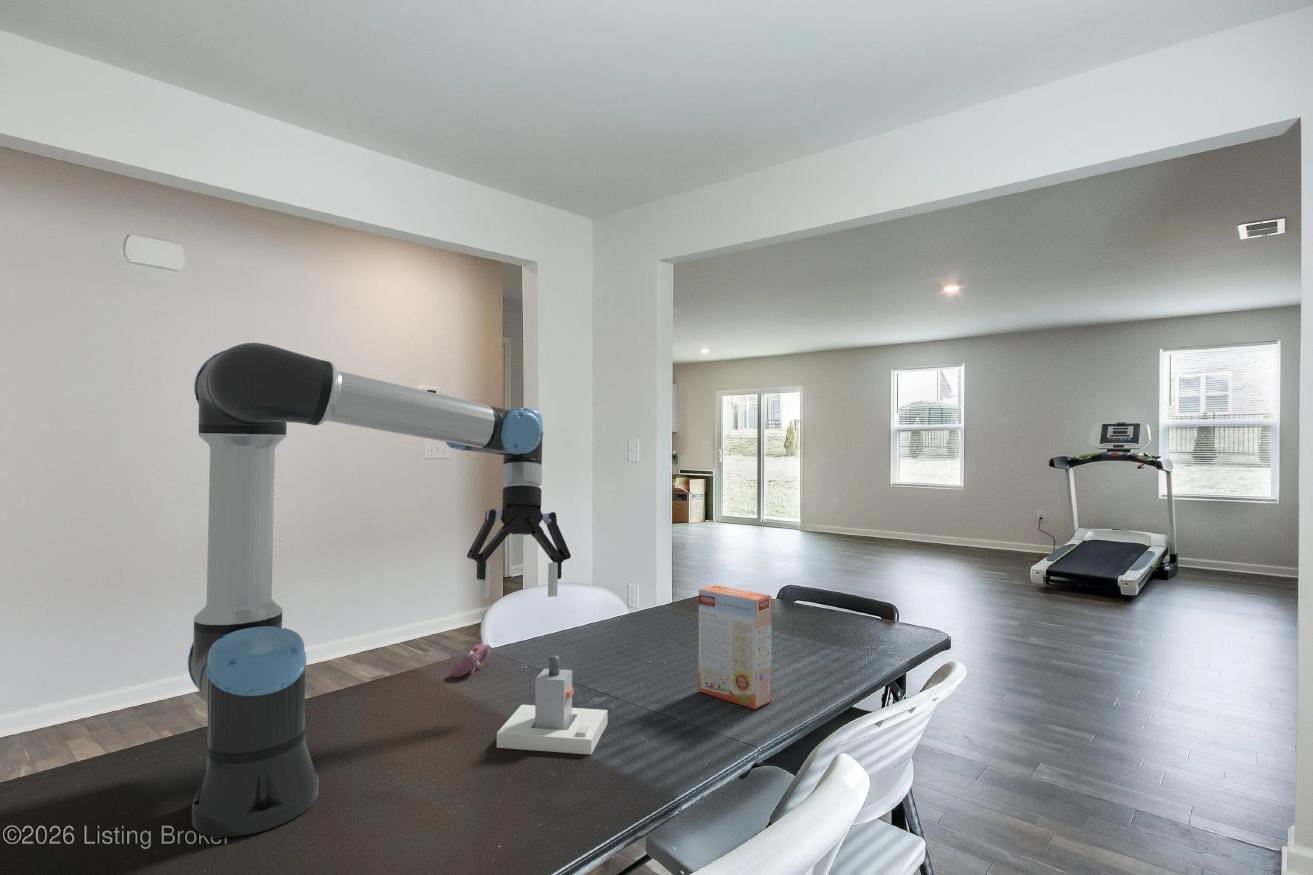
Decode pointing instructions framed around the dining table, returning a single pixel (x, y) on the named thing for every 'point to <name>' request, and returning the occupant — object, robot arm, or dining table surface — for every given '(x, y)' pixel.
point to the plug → (553, 697)
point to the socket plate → (553, 732)
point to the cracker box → (735, 645)
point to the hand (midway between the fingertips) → (519, 597)
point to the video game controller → (472, 660)
